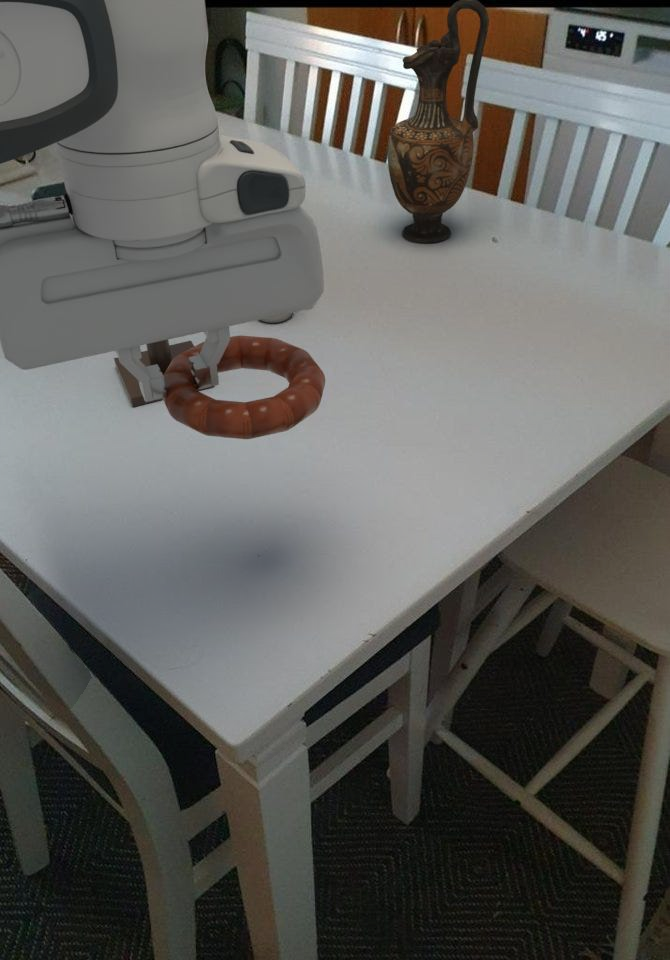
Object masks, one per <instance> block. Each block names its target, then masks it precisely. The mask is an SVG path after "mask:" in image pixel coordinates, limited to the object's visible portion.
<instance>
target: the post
mask: <svg viewBox="0 0 670 960" xmlns="http://www.w3.org/2000/svg"><path fill="white" fill-rule="evenodd" d="M145 346H146V350H144V351H143V350H142V351H141V355H142V358H141V359H139V360H140V361H141V362H142V363H143V364H144V365H145V366H151V365H156V364H158V366H159V368H160V372H162V374H163V375H164V373H165V372H166V370H167V368H168V366H169V365H170V363H171V361H172V360H173V359H174V358H175V357H176V356H178V355H179V354H181V353H183V352H185V351H187V350H189V349H191V348H193V347H194V346H195V345H194V343H193V341H192V340H187V341H182V342H179V343H174V344H170V342H169V339H168V340H163V341H158V342H154V343H149V344H145ZM113 360H114V365H115V368H116V371H117V373H118V376H119V378H120V380H121V383H122V385H123V387H124V390H125V392H126V394H127V396H128V400H129V402H130V405H131V406H132V408H135V407H140V406H144V405H147V404H151V403H156V402H160V401H163V398H161V399H157V400H153V401H149V402H145V400H144V397H143V395H142V392H141V389H140V386H139V381H138V380H137V379H136V378H135V377H134V376H133V375H132V374H131V373H130V372H129V371H128V370H127V369H126V368H125V367H124V366H123V365H122V364H121V363H120V361H119V359H118V356H117V357H114V358H113ZM214 387H215V386H211V387H207V388H203V389H198V391H199V392H200V391H205V390H208V389H212V388H214Z"/></svg>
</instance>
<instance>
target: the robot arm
mask: <svg viewBox="0 0 670 960" xmlns="http://www.w3.org/2000/svg"><path fill="white" fill-rule="evenodd" d="M206 9H207V8H206V0H0V165H2V164H4V163H7V162H10V161H14V160H16V159H18V158H21V157H24V156H26V155H29V154H32V153H34V152H37V151H39V150H41V149H44V148H47V147H49V146H51V145H53V144H54V145H55V149H56V152H57V157H58V161H59V167H60V169H61V175H62V179H63V184H64V188H65V194H63V195H55V196H51V197H45V198H39V199H34V200H32V201H27V202H25V203H18V204H13V205H8V204H0V345H1V350H2V353H3V356H4V358H5V360H7V361H8V362H9V363H11V364H13V365H14V366H15V367H17V368H19V369H21V370H24V371H28V370H34V369H37V368H43V367H48V366H51V365H52V366H53V365H57V364H61V363H65V362H70V361H75V360H80V359H84V358H89V357H93V356H97V355H103V354H107V353H112V352H115V354H116V356H117V357H118V359H119V361H120V363H121V364H122V365H123V366H124V367H125V368H126V369H127V370H128V371H129V372H130V373H131V374H132V375H133V376H134V377H135V378H136V379H137V380H138V381H139V386H140V389H141V392H142V395H143V397H144V400H145V402H149V401H153V400H157V399H161V398H165V397H167V391H166V389H165V380H164V376H163V374H162V372H160V368H159V366H158V364H156V365H151V366H145V365H144V364H143V363H142V362H141V361H140V360H139V359H141V358H142V355H141V352H142V349H141V346H144V345H145V346H146V344H149V343H154V342H158V341H163V340H168V341H169V340H171V339H177V338H181V337H187V336H190V335H191V336H192V335H195V334H200V333H203V334H204V335H205V336H206V337H205V339H204V341H203V342H204V344H203V347H202V350H201V352H200V355H196V356H192V357H189V364H190V367H191V369H192V370H191V376H192V380H193V382H194V384H196V388H197V389H203V388H207V387H211V386H214V387H215V386H219V384H220V382H219V381H220V379H219V373H218V372H217V364H219V362H220V360H221V358H222V355H223V353H224V351H225V349H226V347H227V345H228V343H229V341H230V337H231V333H230V327H233V326H238V325H241V324H247V323H250V322H255V321H262V320H261V319H265V318H270V317H274V316H279V315H284V314H288V313H292V314H294V313H297V312H301V311H308V310H311V309H313V308H314V307H315V306H316V305H317V303H318V302H319V300H320V298H321V297H322V295H323V293H324V290H325V278H324V277H325V276H324V266H323V265H324V264H323V256H322V250H321V243H320V237H319V233H318V230H317V225H316V223H315V221H314V219H313V217H312V216H311V215H310V213H309V212H308V211H307V210H306V209H305V208H304V207H302V204H303V203H304V201H305V199H306V180H305V176H304V174H303V173H302V172H301V171H300V169H299V168H298V166H296V164H294V163H293V162H292V161H291V160H290V159H289V158H287V157H286V156H285V155H283V154H282V153H281V152H279V151H278V150H276V149H274V148H273V147H271V146H270V145H267V144H266V143H263V142H259V141H257V140H251V139H246V138H241V137H235V136H229V135H223V134H220V130H219V119H218V116H217V112H216V108H215V105H214V103H213V100H212V98H211V95H210V92H209V89H208V84H207V79H206V59H207V57H206V56H207V50H208V43H209V27H208V19H207V18H208V17H207V10H206Z"/></svg>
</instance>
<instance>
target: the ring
mask: <svg viewBox="0 0 670 960" xmlns="http://www.w3.org/2000/svg"><path fill="white" fill-rule="evenodd" d="M204 342H205V341H202V342H200V343H198V344H197V345H194V347H193V348H191V349H189V350H187V351H185V352H183V353H181V354H179V355H178V356H176V357H175V358H174V359H173V360H172V361H171V363H170V365H169V366H168V368H167V370H166V372H165V373H164V375H163V376H164V380H165V389H166V391H167V397H165V398H163V400H162V401H163V403H164V405H165V407H166V409H167V412H168V413H169V415H170V417H171V418H172V419H173V420H175V421H176V422H178V423H180V424H182V425H184V426H185V427H188V428H189V429H192V430H194V431H195V432H198V433H200V434H202V435H205V436H208V437H216V438H227V439H237V440H253V439H256V438H257V439H258V438H261V437H267V436H271V435H275V434H279V433H283V432H287V431H290V430H291V429H293V428H294V427H295V426H298V425H299V423H301V422H303V421H304V420H305V419H307V418H308V417H311V415H313V414H314V413H315V412H317V410H318V409H319V408H320V405H321V401H322V398H323V397H322V396H323V393H324V390H325V387H326V376H325V373H324V371H323V369H322V368H321V367H320V366H319V364H318V363H317V362H316V361H315V359H314V358H313V356H311V354H310V353H309V352H308V351H307V350H305V349H303V348H301V347H299V346H296V345H294V344H291V343H288V342H286V341H283V340H281V339H279V338H276V337H266V336H256V335H255V336H254V335H234V336H233V335H232V336H230V341H229V343H228V345H227V347H226V349H225V351H224V353H223V355H222V358H221V360H220V362H219V364H217V372H218V374H219V373H224V372H231V371H235V370H240V369H243V370H256V371H268V372H270V373H273V374H275V375H277V376H279V377H282V378H284V379H285V380H286V381H287V382H288V387H286V388H284V389H283V390H281V391H279V392H278V393H277V394H275V395H274V396H270V397H264V398H259V399H255V400H250V401H235V400H234V401H233V400H222V399H215V398H213V397H211V396H209V395H207V394H205V393H203V392H200V391H198V389H197V388H196V384H194V382H193V380H192V376H191V370H192V369H191V367H190V364H189V357H192V356H196V355H200V352H201V350H202V347H203V344H204Z"/></svg>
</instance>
